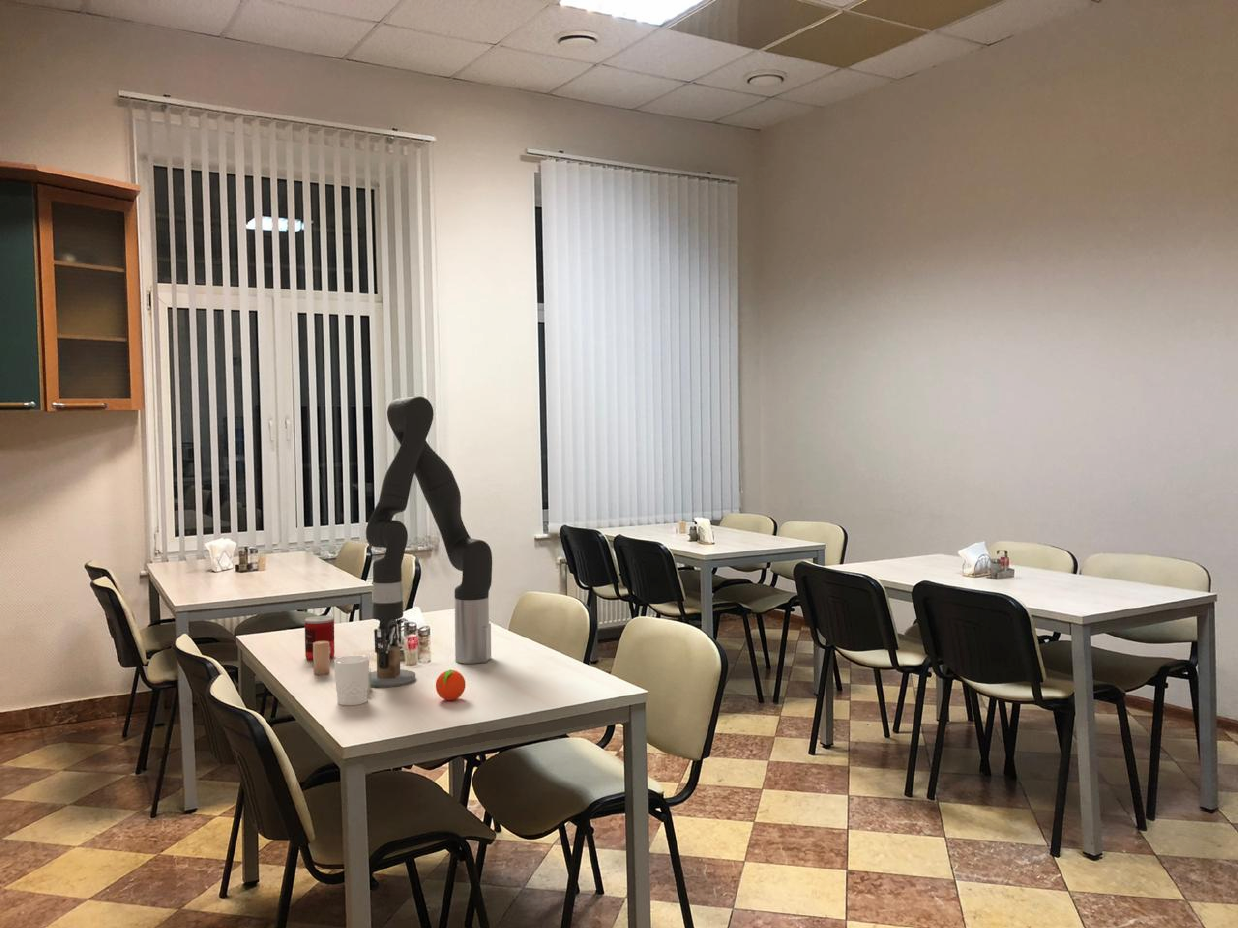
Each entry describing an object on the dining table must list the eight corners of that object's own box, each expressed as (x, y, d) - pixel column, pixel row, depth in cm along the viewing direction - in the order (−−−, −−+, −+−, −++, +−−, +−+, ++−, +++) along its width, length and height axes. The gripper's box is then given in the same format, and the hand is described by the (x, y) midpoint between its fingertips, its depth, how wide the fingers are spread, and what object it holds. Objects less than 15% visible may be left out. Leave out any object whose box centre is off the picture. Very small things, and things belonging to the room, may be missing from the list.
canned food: (338, 654, 273) (338, 615, 272) (327, 661, 265) (326, 621, 264) (312, 653, 273) (311, 615, 273) (300, 660, 265) (299, 621, 265)
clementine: (458, 705, 222) (458, 675, 222) (429, 704, 224) (429, 673, 223) (469, 696, 230) (469, 666, 230) (442, 694, 232) (441, 665, 231)
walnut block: (400, 673, 247) (399, 646, 246) (394, 678, 242) (394, 650, 242) (383, 673, 247) (382, 646, 247) (377, 677, 243) (376, 650, 242)
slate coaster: (421, 674, 251) (421, 669, 251) (406, 687, 238) (406, 682, 238) (372, 673, 252) (372, 668, 252) (354, 686, 239) (354, 681, 239)
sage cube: (370, 688, 238) (370, 667, 238) (369, 693, 233) (368, 673, 233) (349, 689, 237) (349, 668, 237) (347, 694, 232) (347, 674, 232)
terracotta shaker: (332, 671, 254) (331, 640, 254) (326, 675, 250) (325, 644, 250) (317, 670, 255) (316, 640, 254) (311, 674, 251) (310, 644, 250)
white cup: (337, 708, 221) (336, 664, 221) (332, 699, 228) (332, 657, 228) (372, 704, 224) (371, 661, 224) (367, 695, 232) (366, 653, 231)
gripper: (393, 604, 236) (394, 672, 237) (411, 594, 251) (412, 658, 251) (363, 604, 237) (364, 671, 238) (382, 593, 251) (383, 657, 252)
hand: (388, 664), depth 245 cm, fingers open, 6 cm apart
